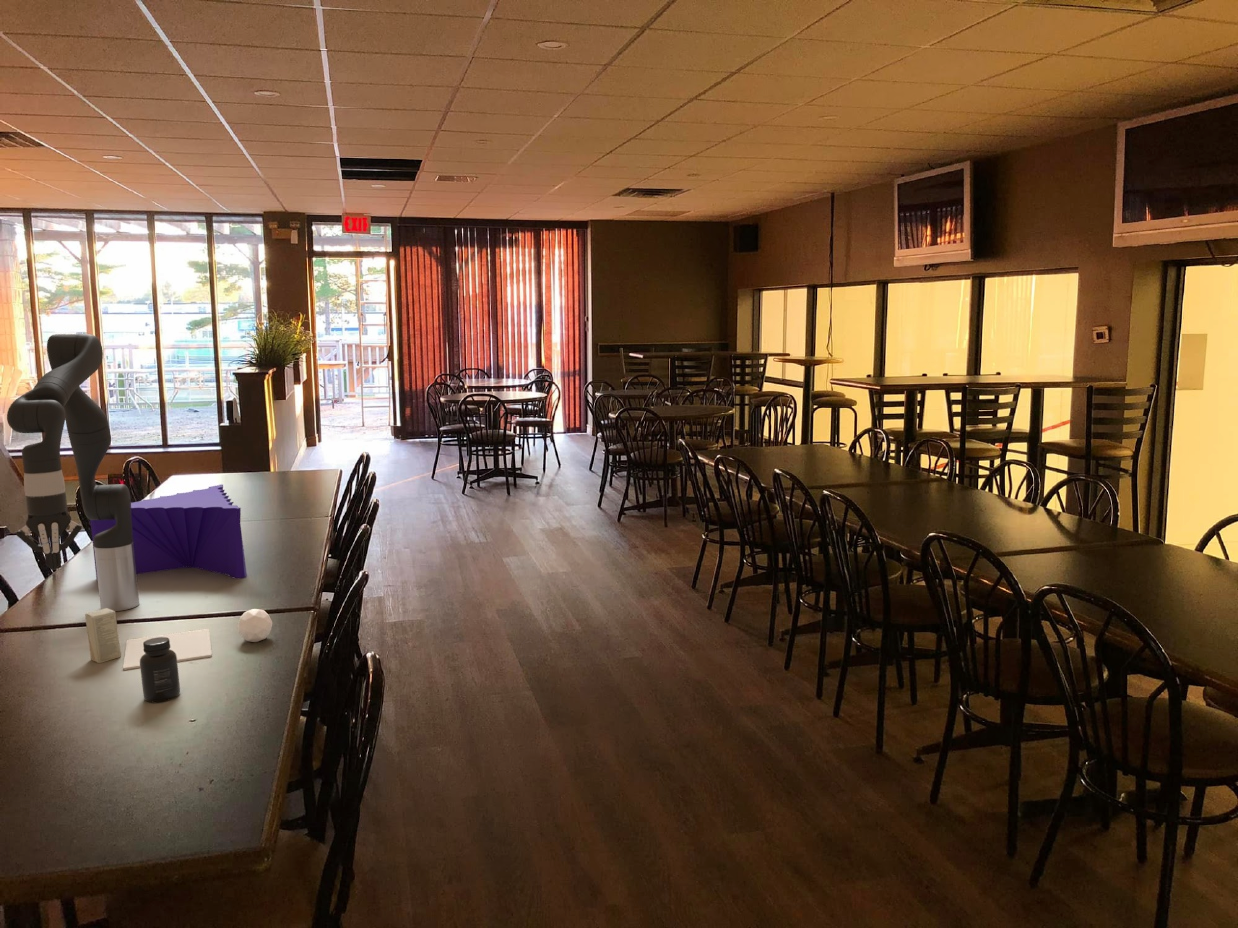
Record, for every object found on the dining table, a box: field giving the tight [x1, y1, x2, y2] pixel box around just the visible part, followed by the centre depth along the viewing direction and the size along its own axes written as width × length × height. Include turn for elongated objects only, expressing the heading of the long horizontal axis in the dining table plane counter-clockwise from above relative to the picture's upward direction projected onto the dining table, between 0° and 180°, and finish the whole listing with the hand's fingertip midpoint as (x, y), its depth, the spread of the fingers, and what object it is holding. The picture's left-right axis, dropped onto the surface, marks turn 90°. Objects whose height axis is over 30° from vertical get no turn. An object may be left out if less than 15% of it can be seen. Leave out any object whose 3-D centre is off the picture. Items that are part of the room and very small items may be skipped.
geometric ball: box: [236, 608, 273, 643], centre depth 224 cm, size 8×8×8 cm
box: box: [84, 608, 122, 664], centre depth 213 cm, size 5×4×11 cm
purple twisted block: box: [89, 483, 248, 580], centre depth 295 cm, size 40×45×21 cm
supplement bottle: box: [139, 637, 181, 703], centre depth 191 cm, size 7×7×12 cm
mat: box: [122, 628, 213, 671], centre depth 219 cm, size 20×18×1 cm
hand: (54, 568), depth 207 cm, fingers closed
